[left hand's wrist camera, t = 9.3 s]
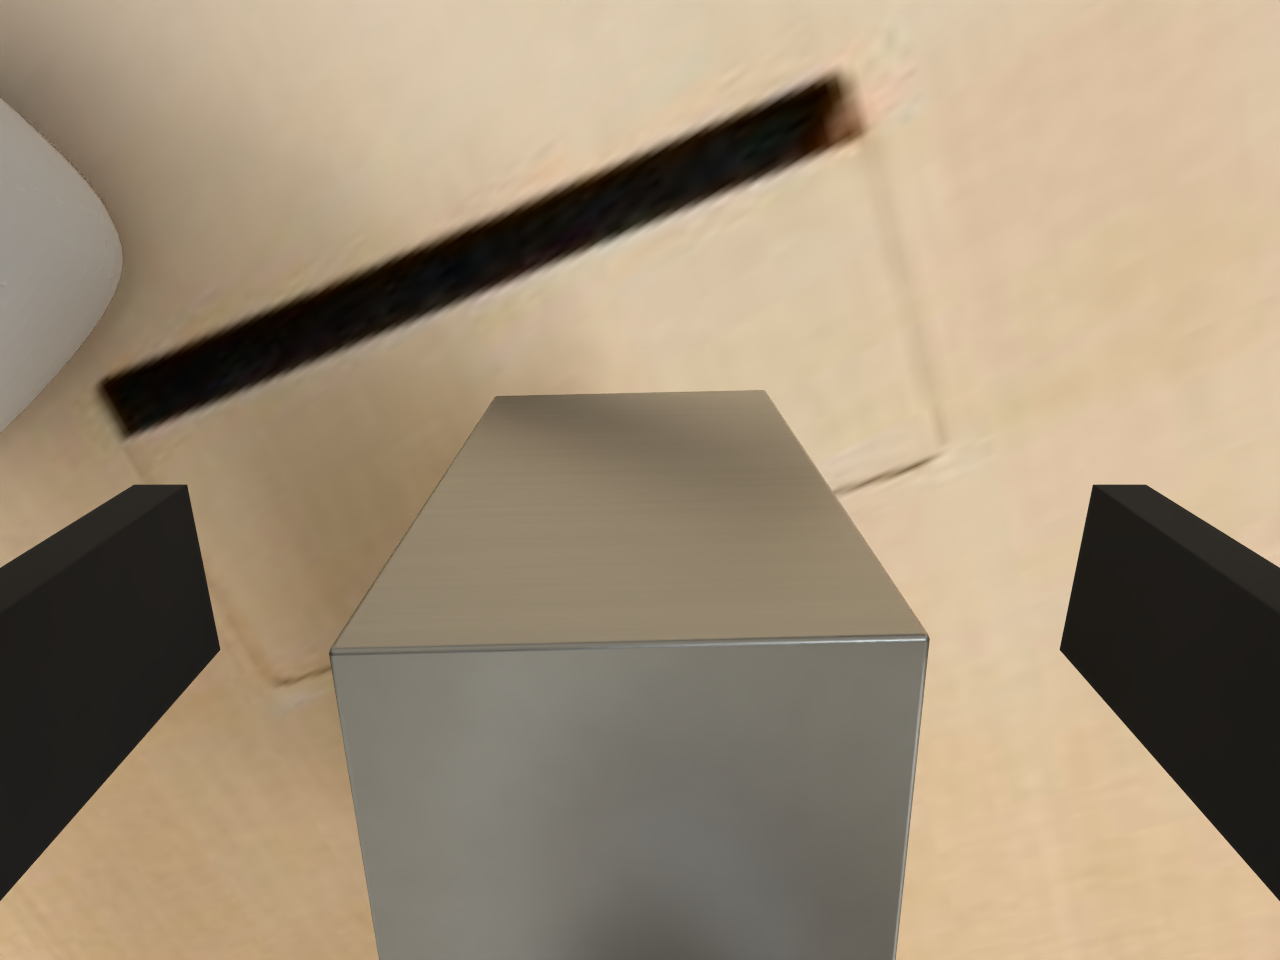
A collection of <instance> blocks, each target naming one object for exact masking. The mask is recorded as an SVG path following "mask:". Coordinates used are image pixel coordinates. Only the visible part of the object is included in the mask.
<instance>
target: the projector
mask: <svg viewBox="0 0 1280 960" xmlns="http://www.w3.org/2000/svg"><path fill="white" fill-rule="evenodd" d="M122 268H123V252H122V246H121V242H120V239H119V235H118V233H117V230H116V228H115V226H114V224H113V222H112V220H111V218H110V216H109V213H108V212H107V210H106V208H105V206H104V205H103V203H102V202H101V200H100V199H99V198H98V196H97V195H96V193H95V192H94V191H93V190H92V188H91V187H90V186H89V184H88V183H87V182H86V181H85V180H84V179H83V178H82V176H81V175H80V174H79V173H78V172H77V171H76V170H75V169H74V168H73V167H72V165H71V164H70V163H69V162H68V161H67V160H66V159H65V158H64V157H63V156H62V155H61V154H60V153H59V152H58V151H57V150H56V149H55V148H54V147H53V146H52V145H51V144H50V143H49V142H48V141H47V140H46V139H45V138H44V137H43V136H41V135H40V134H39V133H38V132H37V131H36V130H35V129H34V128H33V127H32V126H31V125H30V124H29V123H28V122H27V121H25V120H24V119H23V118H22V117H21V116H20V115H19V114H18V113H17V112H16V111H15V110H14V109H12V108H11V107H10V106H9V105H8V104H7V103H6V102H5V101H4V100H2V99H1V98H0V433H1V432H2V431H3V430H4V429H5V428H6V427H7V426H8V425H9V424H10V423H11V422H12V421H13V420H14V419H15V418H16V417H17V416H18V415H19V414H20V413H21V412H22V411H23V410H24V409H25V408H26V407H27V406H28V405H29V404H30V403H31V402H32V401H33V400H34V399H35V398H36V397H37V396H38V395H39V394H40V393H41V392H42V391H43V389H44V388H45V387H46V386H47V385H48V384H49V383H50V382H51V381H52V380H53V378H54V377H55V376H56V375H57V374H58V373H59V372H60V370H61V369H62V368H63V367H64V366H65V365H66V364H67V362H68V361H69V360H70V359H71V358H72V356H73V355H74V354H75V353H76V351H77V350H78V349H79V347H80V346H81V345H82V344H83V342H84V341H85V340H86V339H87V337H88V336H89V335H90V333H91V332H92V330H93V329H94V327H95V326H96V325H97V323H98V322H99V320H100V319H101V317H102V316H103V314H104V313H105V311H106V309H107V307H108V305H109V304H110V302H111V300H112V298H113V296H114V294H115V292H116V289H117V286H118V283H119V280H120V277H121V273H122Z"/></svg>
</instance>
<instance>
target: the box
mask: <svg viewBox="0 0 1280 960" xmlns="http://www.w3.org/2000/svg"><path fill="white" fill-rule="evenodd" d="M928 649H929V636H928V634H927V632H926V631H925V629H924V628H923V626H922V625H921V623H920V622H919V620H918V619H917V617H916V616H915V614H914V613H913V611H912V610H911V608H910V607H909V605H908V604H907V602H906V601H905V599H904V598H903V596H902V595H901V593H900V592H899V590H898V589H897V587H896V586H895V584H894V583H893V581H892V580H891V578H890V577H889V575H888V574H887V572H886V571H885V569H884V568H883V566H882V565H881V563H880V562H879V561H878V559H877V558H876V556H875V555H874V553H873V552H872V550H871V549H870V547H869V546H868V544H867V543H866V541H865V540H864V538H863V537H862V535H861V534H860V532H859V531H858V529H857V528H856V526H855V525H854V523H853V522H852V520H851V519H850V517H849V516H848V514H847V513H846V511H845V510H844V508H843V507H842V505H841V504H840V502H839V501H838V499H837V498H836V496H835V495H834V493H833V492H832V490H831V489H830V487H829V486H828V484H827V483H826V481H825V480H824V478H823V477H822V475H821V474H820V472H819V471H818V469H817V468H816V466H815V465H814V463H813V462H812V460H811V459H810V457H809V456H808V454H807V453H806V451H805V450H804V448H803V447H802V445H801V444H800V442H799V441H798V439H797V438H796V436H795V435H794V433H793V432H792V430H791V429H790V427H789V426H788V424H787V423H786V421H785V420H784V418H783V417H782V415H781V414H780V412H779V411H778V409H777V408H776V406H775V405H774V403H773V402H772V400H771V399H770V397H769V396H768V395H767V393H766V392H765V391H764V390H752V391H708V392H664V393H620V394H575V395H531V396H497V397H495V398H494V399H493V401H492V402H491V404H490V405H489V407H488V409H487V410H486V412H485V413H484V415H483V416H482V418H481V419H480V421H479V422H478V424H477V425H476V427H475V428H474V430H473V431H472V433H471V435H470V436H469V438H468V439H467V441H466V442H465V444H464V445H463V447H462V448H461V450H460V451H459V453H458V454H457V456H456V457H455V459H454V461H453V462H452V464H451V465H450V467H449V468H448V470H447V471H446V473H445V474H444V476H443V477H442V479H441V480H440V482H439V483H438V485H437V487H436V488H435V490H434V491H433V493H432V494H431V496H430V497H429V499H428V500H427V502H426V503H425V505H424V506H423V508H422V509H421V511H420V513H419V514H418V516H417V517H416V519H415V520H414V522H413V523H412V525H411V526H410V528H409V529H408V531H407V532H406V534H405V535H404V537H403V539H402V540H401V542H400V543H399V545H398V546H397V548H396V549H395V551H394V552H393V554H392V555H391V557H390V558H389V560H388V561H387V563H386V565H385V566H384V568H383V569H382V571H381V572H380V574H379V575H378V577H377V578H376V580H375V581H374V583H373V584H372V586H371V587H370V589H369V590H368V592H367V594H366V595H365V597H364V598H363V600H362V601H361V603H360V604H359V606H358V607H357V609H356V610H355V612H354V613H353V615H352V616H351V618H350V620H349V621H348V623H347V624H346V626H345V627H344V629H343V630H342V632H341V633H340V635H339V636H338V638H337V639H336V641H335V642H334V644H333V646H332V647H331V649H330V652H329V655H330V661H331V668H332V674H333V680H334V686H335V692H336V698H337V704H338V710H339V717H340V723H341V729H342V735H343V741H344V747H345V753H346V759H347V766H348V772H349V778H350V784H351V790H352V796H353V802H354V808H355V815H356V821H357V827H358V833H359V839H360V845H361V851H362V857H363V864H364V870H365V876H366V882H367V888H368V894H369V900H370V906H371V913H372V919H373V925H374V931H375V937H376V943H377V949H378V955H379V960H896V951H897V941H898V932H899V922H900V913H901V903H902V894H903V885H904V875H905V866H906V856H907V847H908V837H909V828H910V819H911V809H912V800H913V790H914V781H915V771H916V762H917V753H918V743H919V734H920V724H921V715H922V705H923V696H924V686H925V677H926V668H927V658H928Z"/></svg>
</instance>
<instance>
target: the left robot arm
mask: <svg viewBox="0 0 1280 960" xmlns="http://www.w3.org/2000/svg"><path fill="white" fill-rule="evenodd" d="M219 651H220V646H219V641H218V636H217V631H216V626H215V621H214V616H213V611H212V606H211V601H210V596H209V591H208V586H207V581H206V577H205V572H204V567H203V562H202V557H201V552H200V547H199V542H198V537H197V532H196V527H195V522H194V517H193V512H192V507H191V502H190V497H189V492H188V487H187V485H133V486H131V487H130V488H128V489H126V490H125V491H123V492H122V493H120V494H118V495H117V496H115V497H114V498H112V499H110V500H109V501H107V502H106V503H104V504H102V505H101V506H99V507H97V508H96V509H94V510H93V511H91V512H89V513H88V514H86V515H85V516H83V517H81V518H80V519H78V520H77V521H75V522H73V523H72V524H70V525H69V526H67V527H65V528H64V529H62V530H60V531H59V532H57V533H56V534H54V535H52V536H51V537H49V538H48V539H46V540H44V541H43V542H41V543H40V544H38V545H36V546H35V547H33V548H31V549H30V550H28V551H27V552H25V553H23V554H22V555H20V556H19V557H17V558H15V559H14V560H12V561H11V562H9V563H7V564H6V565H4V566H3V567H1V568H0V901H1V900H2V898H3V897H4V896H5V895H6V894H7V893H8V892H9V890H10V889H11V888H12V887H13V886H14V885H15V884H16V882H17V881H18V880H19V879H20V878H21V877H22V876H23V874H24V873H25V872H26V871H27V870H28V869H29V868H30V866H31V865H32V864H33V863H34V862H35V861H36V860H37V858H38V857H39V856H40V855H41V854H42V853H43V852H44V850H45V849H46V848H47V847H48V846H49V845H50V844H51V842H52V841H53V840H54V839H55V838H56V837H57V836H58V834H59V833H60V832H61V831H62V830H63V829H64V828H65V826H66V825H67V824H68V823H69V822H70V821H71V820H72V818H73V817H74V816H75V815H76V814H77V813H78V812H79V810H80V809H81V808H82V807H83V806H84V805H85V804H86V802H87V801H88V800H89V799H90V798H91V797H92V796H93V794H94V793H95V792H96V791H97V790H98V789H99V788H100V786H101V785H102V784H103V783H104V782H105V781H106V780H107V778H108V777H109V776H110V775H111V774H112V773H113V772H114V771H115V769H116V768H117V767H118V766H119V765H120V764H121V763H122V761H123V760H124V759H125V758H126V757H127V756H128V755H129V753H130V752H131V751H132V750H133V749H134V748H135V747H136V745H137V744H138V743H139V742H140V741H141V740H142V739H143V737H144V736H145V735H146V734H147V733H148V732H149V731H150V729H151V728H152V727H153V726H154V725H155V724H156V723H157V721H158V720H159V719H160V718H161V717H162V716H163V715H164V713H165V712H166V711H167V710H168V709H169V708H170V707H171V705H172V704H173V703H174V702H175V701H176V700H177V699H178V697H179V696H180V695H181V694H182V693H183V692H184V691H185V689H186V688H187V687H188V686H189V685H190V684H191V683H192V681H193V680H194V679H195V678H196V677H197V676H198V675H199V673H200V672H201V671H202V670H203V669H204V668H205V667H206V665H207V664H208V663H209V662H210V661H211V660H212V659H213V657H214V656H215V655H216V654H217V653H218V652H219ZM1060 651H1061V652H1062V653H1063V654H1064V655H1065V656H1066V657H1067V659H1068V660H1069V661H1070V662H1071V663H1072V664H1073V665H1074V667H1075V668H1076V669H1077V670H1078V671H1079V672H1080V673H1081V675H1082V676H1083V677H1084V678H1085V679H1086V680H1087V681H1088V683H1089V684H1090V685H1091V686H1092V687H1093V688H1094V689H1095V691H1096V692H1097V693H1098V694H1099V695H1100V696H1101V697H1102V699H1103V700H1104V701H1105V702H1106V703H1107V704H1108V705H1109V707H1110V708H1111V709H1112V710H1113V711H1114V712H1115V713H1116V715H1117V716H1118V717H1119V718H1120V719H1121V720H1122V721H1123V723H1124V724H1125V725H1126V726H1127V727H1128V728H1129V729H1130V731H1131V732H1132V733H1133V734H1134V735H1135V736H1136V737H1137V739H1138V740H1139V741H1140V742H1141V743H1142V744H1143V745H1144V747H1145V748H1146V749H1147V750H1148V751H1149V752H1150V753H1151V755H1152V756H1153V757H1154V758H1155V759H1156V760H1157V761H1158V763H1159V764H1160V765H1161V766H1162V767H1163V768H1164V769H1165V771H1166V772H1167V773H1168V774H1169V775H1170V776H1171V777H1172V778H1173V780H1174V781H1175V782H1176V783H1177V784H1178V785H1179V786H1180V788H1181V789H1182V790H1183V791H1184V792H1185V793H1186V794H1187V796H1188V797H1189V798H1190V799H1191V800H1192V801H1193V802H1194V804H1195V805H1196V806H1197V807H1198V808H1199V809H1200V810H1201V812H1202V813H1203V814H1204V815H1205V816H1206V817H1207V818H1208V820H1209V821H1210V822H1211V823H1212V824H1213V825H1214V826H1215V828H1216V829H1217V830H1218V831H1219V832H1220V833H1221V834H1222V836H1223V837H1224V838H1225V839H1226V840H1227V841H1228V842H1229V844H1230V845H1231V846H1232V847H1233V848H1234V849H1235V850H1236V852H1237V853H1238V854H1239V855H1240V856H1241V857H1242V858H1243V860H1244V861H1245V862H1246V863H1247V864H1248V865H1249V866H1250V868H1251V869H1252V870H1253V871H1254V872H1255V873H1256V874H1257V876H1258V877H1259V878H1260V879H1261V880H1262V881H1263V882H1264V884H1265V885H1266V886H1267V887H1268V888H1269V889H1270V890H1271V892H1272V893H1273V894H1274V895H1275V896H1276V897H1277V898H1278V900H1279V901H1280V568H1279V567H1277V566H1276V565H1274V564H1273V563H1271V562H1269V561H1268V560H1266V559H1265V558H1263V557H1261V556H1260V555H1258V554H1257V553H1255V552H1253V551H1252V550H1250V549H1249V548H1247V547H1245V546H1244V545H1242V544H1240V543H1239V542H1237V541H1236V540H1234V539H1232V538H1231V537H1229V536H1228V535H1226V534H1224V533H1223V532H1221V531H1220V530H1218V529H1216V528H1215V527H1213V526H1211V525H1210V524H1208V523H1207V522H1205V521H1203V520H1202V519H1200V518H1199V517H1197V516H1195V515H1194V514H1192V513H1191V512H1189V511H1187V510H1186V509H1184V508H1183V507H1181V506H1179V505H1178V504H1176V503H1174V502H1173V501H1171V500H1170V499H1168V498H1166V497H1165V496H1163V495H1162V494H1160V493H1158V492H1157V491H1155V490H1154V489H1152V488H1150V487H1149V486H1147V485H1093V487H1092V492H1091V497H1090V502H1089V507H1088V512H1087V517H1086V522H1085V527H1084V532H1083V537H1082V542H1081V547H1080V552H1079V557H1078V562H1077V567H1076V572H1075V577H1074V581H1073V586H1072V591H1071V596H1070V601H1069V606H1068V611H1067V616H1066V621H1065V626H1064V631H1063V636H1062V641H1061V646H1060Z"/></svg>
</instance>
